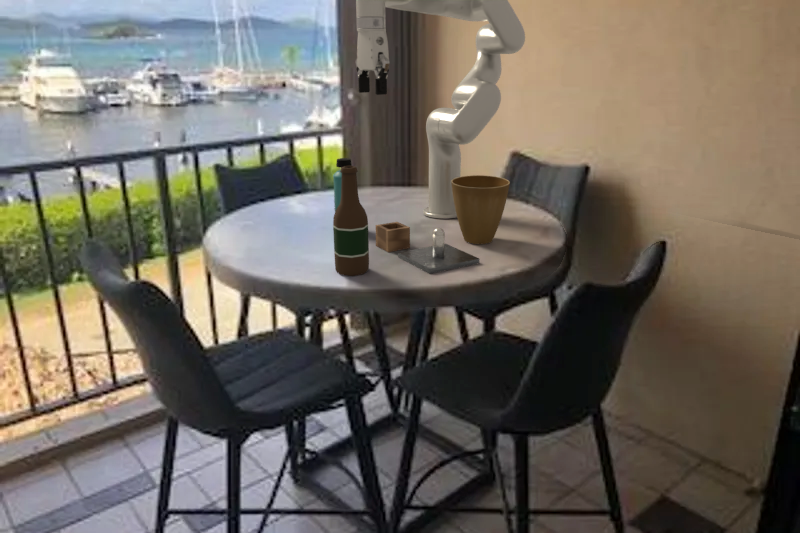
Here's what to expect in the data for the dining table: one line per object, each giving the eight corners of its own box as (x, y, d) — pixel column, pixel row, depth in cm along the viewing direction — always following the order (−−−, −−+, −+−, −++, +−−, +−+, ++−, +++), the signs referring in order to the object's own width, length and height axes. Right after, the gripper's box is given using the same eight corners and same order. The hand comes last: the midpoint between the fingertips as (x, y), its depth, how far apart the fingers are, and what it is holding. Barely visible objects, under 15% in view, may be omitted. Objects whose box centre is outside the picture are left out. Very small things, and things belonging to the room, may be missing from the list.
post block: (445, 248, 160) (446, 217, 157) (479, 263, 148) (480, 230, 146) (398, 257, 153) (398, 225, 150) (429, 273, 142) (429, 240, 139)
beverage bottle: (354, 233, 173) (352, 160, 166) (331, 232, 174) (328, 160, 168) (361, 227, 179) (359, 156, 172) (338, 225, 180) (335, 156, 174)
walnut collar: (397, 241, 165) (397, 221, 163) (410, 248, 160) (409, 227, 158) (375, 245, 162) (375, 225, 160) (388, 252, 157) (387, 231, 155)
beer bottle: (335, 265, 147) (331, 163, 139) (368, 264, 148) (366, 163, 140) (334, 277, 140) (330, 170, 132) (369, 276, 141) (367, 169, 133)
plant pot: (440, 236, 169) (441, 178, 164) (488, 230, 175) (490, 173, 170) (467, 252, 156) (469, 189, 151) (517, 244, 162) (521, 183, 157)
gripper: (400, 24, 158) (400, 94, 163) (368, 26, 172) (370, 91, 178) (373, 24, 154) (375, 95, 160) (343, 26, 168) (346, 92, 174)
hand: (372, 93), depth 169 cm, fingers open, 9 cm apart
